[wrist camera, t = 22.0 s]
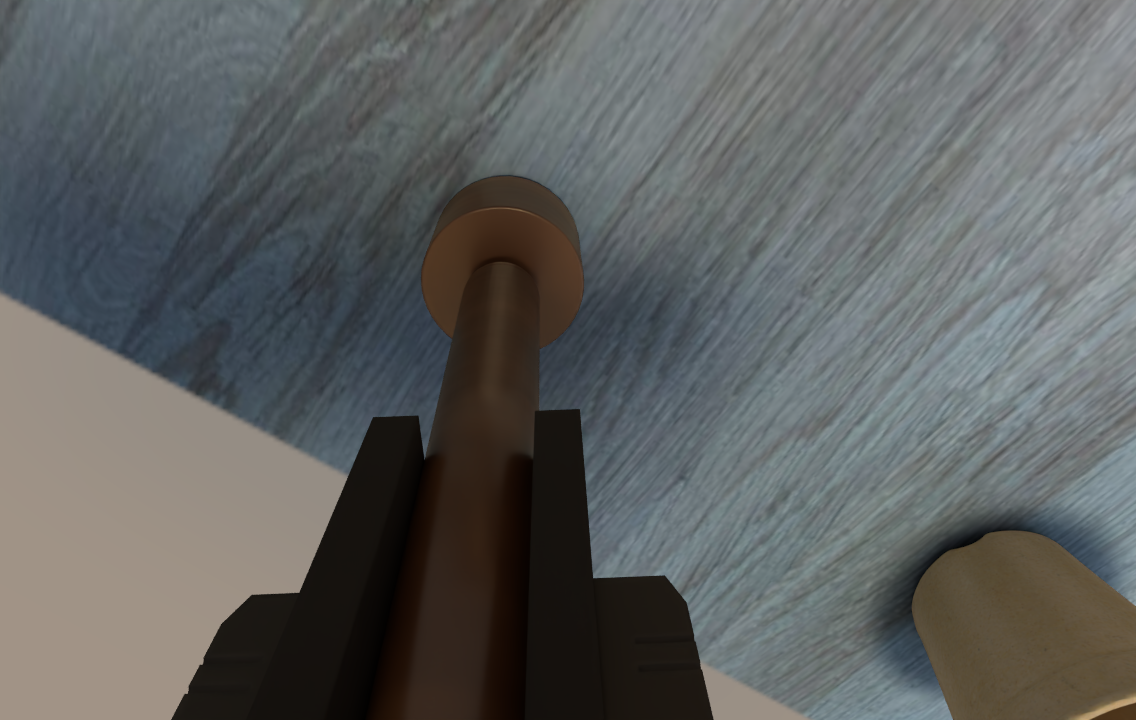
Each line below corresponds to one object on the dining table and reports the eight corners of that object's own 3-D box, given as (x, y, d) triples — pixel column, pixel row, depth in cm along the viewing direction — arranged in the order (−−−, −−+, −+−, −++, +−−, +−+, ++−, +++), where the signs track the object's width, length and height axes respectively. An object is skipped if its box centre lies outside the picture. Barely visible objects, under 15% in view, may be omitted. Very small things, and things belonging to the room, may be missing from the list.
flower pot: (1094, 661, 31) (1275, 879, 24) (867, 692, 32) (971, 916, 24) (1129, 474, 27) (1362, 663, 20) (869, 513, 28) (995, 712, 20)
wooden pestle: (454, 323, 24) (178, 1513, 6) (417, 190, 22) (-200, 1386, 4) (590, 300, 24) (750, 1464, 6) (565, 163, 22) (694, 1296, 3)
